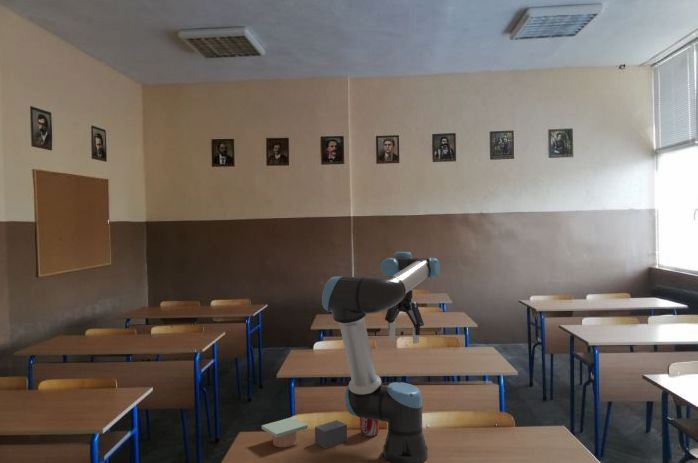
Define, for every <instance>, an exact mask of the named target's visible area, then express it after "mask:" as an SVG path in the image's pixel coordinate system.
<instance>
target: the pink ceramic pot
mask: <svg viewBox="0 0 698 463" xmlns="http://www.w3.org/2000/svg"><path fill="white" fill-rule="evenodd" d="M296 443H297V432H293V433H290V434H287V435H283V436H280V437H277V438H276V437H275V436H273V435H272V445H273V444H274V445H273V446H275V447H279V448H289V447H292V446H294V445H295V444H296Z"/></svg>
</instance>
